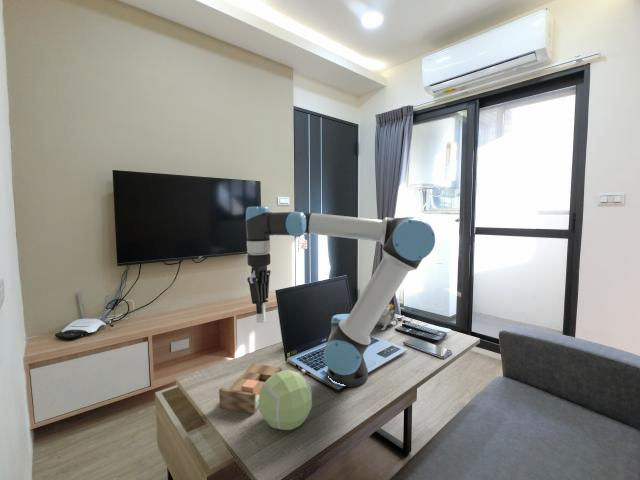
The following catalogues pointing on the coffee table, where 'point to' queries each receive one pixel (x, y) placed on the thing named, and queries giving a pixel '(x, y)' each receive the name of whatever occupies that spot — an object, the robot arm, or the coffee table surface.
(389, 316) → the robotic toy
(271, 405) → the decorative sphere
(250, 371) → the wooden box
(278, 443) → the coffee table surface
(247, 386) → the cube
